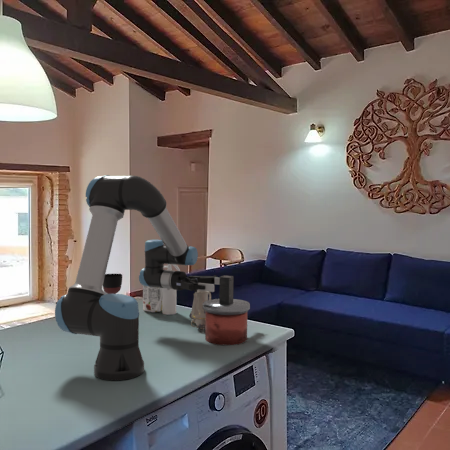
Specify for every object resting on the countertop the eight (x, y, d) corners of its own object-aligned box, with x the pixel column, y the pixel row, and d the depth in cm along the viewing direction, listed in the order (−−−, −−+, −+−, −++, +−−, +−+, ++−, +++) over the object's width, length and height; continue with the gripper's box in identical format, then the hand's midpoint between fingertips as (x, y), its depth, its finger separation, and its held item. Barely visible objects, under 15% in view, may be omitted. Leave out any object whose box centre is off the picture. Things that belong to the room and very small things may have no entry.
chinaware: (208, 337, 190) (212, 296, 188) (172, 327, 197) (176, 288, 195) (237, 320, 215) (241, 285, 213) (204, 312, 222) (208, 278, 220)
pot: (237, 347, 171) (237, 315, 170) (196, 341, 178) (197, 309, 177) (263, 329, 195) (263, 300, 194) (226, 324, 202) (226, 296, 201)
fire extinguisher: (155, 310, 225) (156, 258, 223) (180, 311, 225) (182, 259, 223) (153, 314, 218) (154, 260, 216) (179, 315, 218) (181, 261, 216)
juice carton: (154, 313, 220) (154, 272, 219) (140, 310, 225) (140, 270, 224) (165, 310, 227) (165, 270, 226) (151, 307, 231) (151, 268, 230)
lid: (238, 315, 169) (238, 282, 169) (194, 310, 177) (194, 278, 176) (256, 305, 186) (257, 275, 185) (215, 300, 193) (215, 271, 193)
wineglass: (100, 319, 208) (100, 274, 207) (120, 317, 212) (120, 273, 210) (103, 324, 201) (103, 277, 200) (124, 322, 204) (124, 275, 203)
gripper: (190, 284, 203) (235, 289, 193) (157, 295, 180) (206, 301, 171) (190, 266, 202) (235, 270, 193) (157, 275, 180) (206, 280, 170)
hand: (222, 285), depth 182 cm, fingers open, 13 cm apart
